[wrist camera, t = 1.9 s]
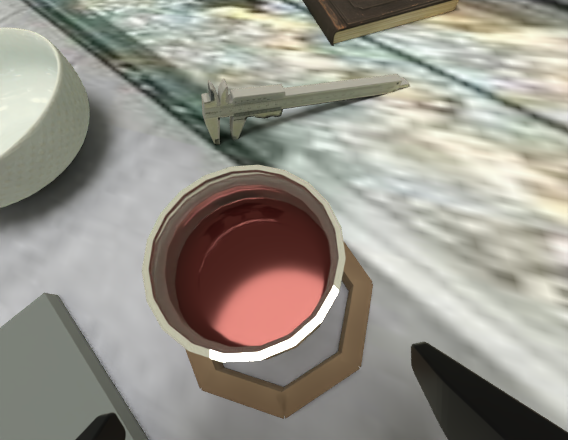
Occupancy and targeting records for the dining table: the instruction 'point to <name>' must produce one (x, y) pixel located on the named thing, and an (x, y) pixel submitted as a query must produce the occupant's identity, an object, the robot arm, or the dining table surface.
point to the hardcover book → (371, 15)
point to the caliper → (284, 99)
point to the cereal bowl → (37, 114)
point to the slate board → (53, 378)
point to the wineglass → (244, 264)
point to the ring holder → (312, 382)
